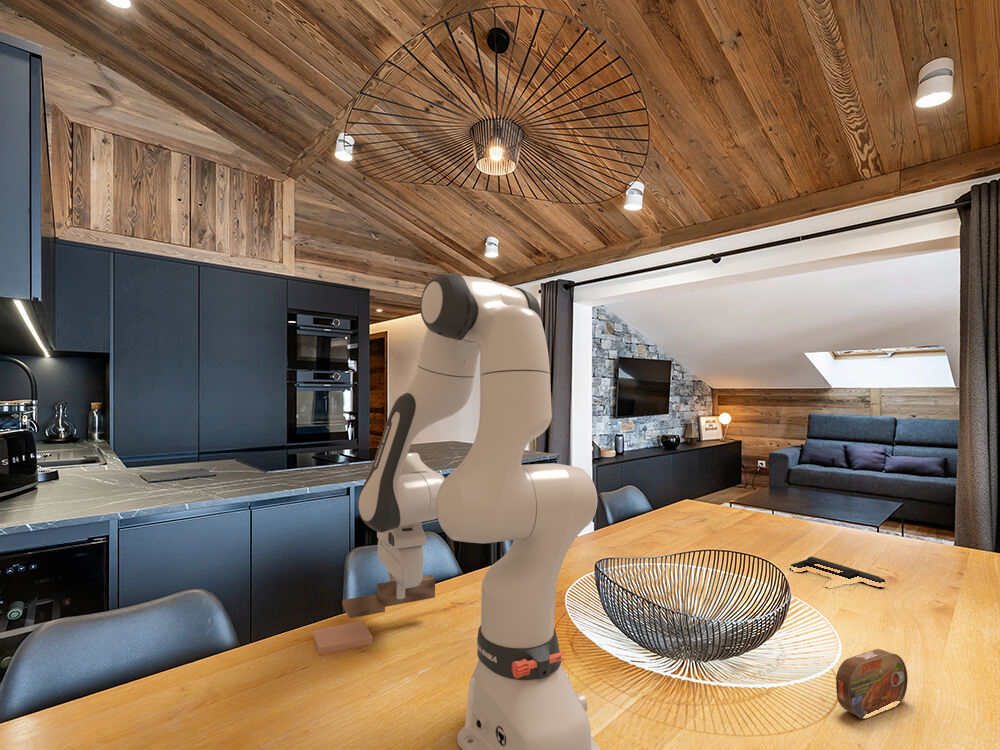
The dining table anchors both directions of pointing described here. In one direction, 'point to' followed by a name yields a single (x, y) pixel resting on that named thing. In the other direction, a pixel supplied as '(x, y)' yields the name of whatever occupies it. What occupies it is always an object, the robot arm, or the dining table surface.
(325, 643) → the tile
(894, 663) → the tin
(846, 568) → the door handle
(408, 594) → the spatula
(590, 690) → the dining table surface
